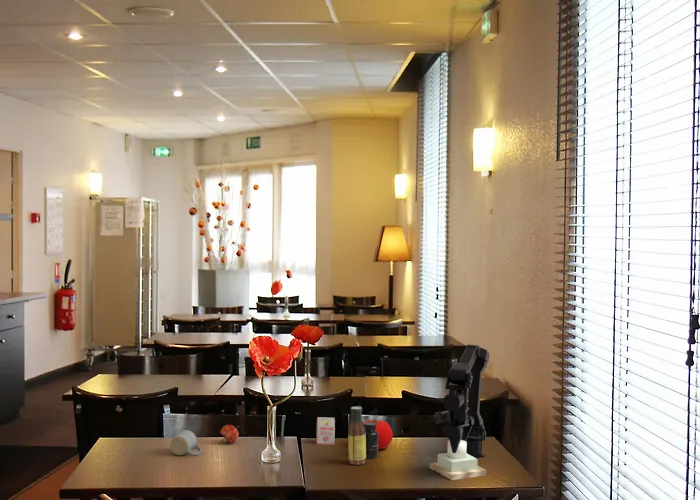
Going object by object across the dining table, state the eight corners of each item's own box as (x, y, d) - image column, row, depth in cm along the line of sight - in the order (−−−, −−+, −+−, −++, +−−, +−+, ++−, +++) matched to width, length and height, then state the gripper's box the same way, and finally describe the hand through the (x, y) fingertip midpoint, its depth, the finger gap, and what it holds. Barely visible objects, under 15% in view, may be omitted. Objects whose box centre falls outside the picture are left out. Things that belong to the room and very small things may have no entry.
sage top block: (462, 460, 281) (462, 451, 281) (477, 469, 271) (477, 459, 271) (437, 463, 277) (437, 453, 277) (451, 472, 268) (451, 462, 268)
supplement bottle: (376, 459, 286) (377, 426, 286) (358, 458, 288) (358, 425, 287) (379, 454, 293) (380, 421, 293) (361, 452, 295) (362, 420, 294)
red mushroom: (223, 452, 299) (244, 435, 301) (211, 436, 299) (233, 420, 301) (224, 448, 307) (244, 432, 308) (212, 433, 307) (233, 417, 308)
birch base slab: (462, 465, 284) (463, 458, 283) (486, 477, 271) (486, 470, 271) (429, 470, 277) (429, 463, 277) (451, 482, 265) (451, 475, 265)
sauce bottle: (368, 462, 283) (369, 406, 282) (361, 466, 277) (362, 410, 277) (352, 459, 286) (353, 404, 285) (344, 464, 280) (345, 408, 279)
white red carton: (317, 441, 308) (317, 416, 308) (334, 442, 308) (334, 416, 308) (316, 444, 305) (316, 418, 304) (333, 444, 304) (334, 419, 304)
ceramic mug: (168, 455, 286) (169, 434, 286) (177, 449, 294) (178, 428, 294) (196, 458, 284) (197, 437, 284) (204, 451, 292) (205, 431, 292)
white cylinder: (459, 452, 279) (459, 438, 279) (470, 457, 273) (470, 443, 273) (443, 454, 276) (444, 440, 276) (454, 459, 270) (454, 445, 270)
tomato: (399, 446, 303) (399, 419, 303) (382, 454, 292) (382, 426, 292) (367, 440, 311) (367, 414, 311) (349, 448, 300) (350, 420, 300)
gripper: (444, 396, 285) (443, 439, 286) (428, 407, 268) (427, 453, 269) (474, 400, 281) (473, 443, 281) (460, 411, 264) (459, 457, 264)
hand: (458, 449), depth 274 cm, fingers open, 9 cm apart
